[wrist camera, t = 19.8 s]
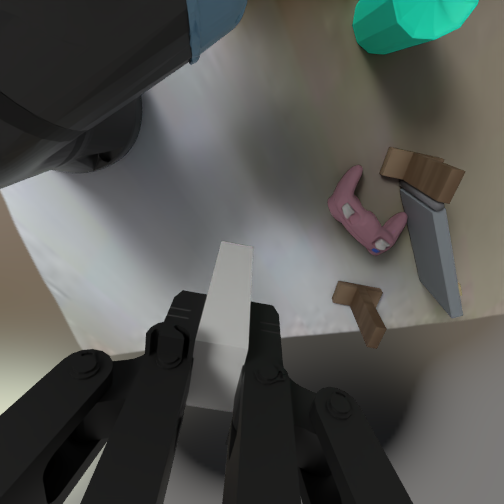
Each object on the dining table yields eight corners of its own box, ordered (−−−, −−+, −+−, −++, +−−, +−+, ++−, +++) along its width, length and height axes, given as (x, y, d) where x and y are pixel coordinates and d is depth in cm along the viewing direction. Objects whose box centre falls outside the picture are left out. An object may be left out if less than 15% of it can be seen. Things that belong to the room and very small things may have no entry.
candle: (428, 22, 31) (518, -15, 20) (373, 69, 32) (428, 58, 22) (396, -40, 29) (477, -118, 18) (340, 14, 30) (383, -27, 20)
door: (419, 279, 43) (453, 319, 35) (397, 181, 37) (431, 204, 30) (437, 273, 43) (475, 313, 35) (418, 173, 37) (459, 195, 29)
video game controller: (327, 179, 39) (316, 215, 35) (358, 157, 36) (350, 194, 31) (378, 230, 42) (374, 269, 38) (411, 214, 39) (410, 254, 34)
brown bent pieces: (331, 298, 45) (347, 343, 37) (389, 146, 36) (426, 163, 28) (372, 305, 46) (396, 351, 37) (439, 157, 36) (491, 177, 28)
